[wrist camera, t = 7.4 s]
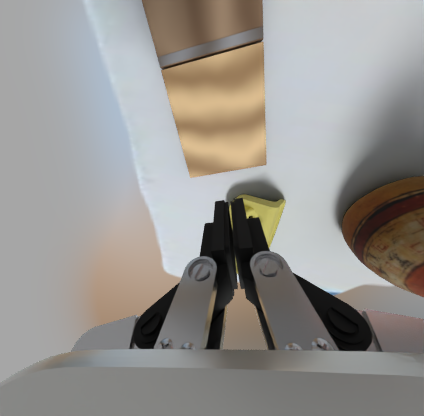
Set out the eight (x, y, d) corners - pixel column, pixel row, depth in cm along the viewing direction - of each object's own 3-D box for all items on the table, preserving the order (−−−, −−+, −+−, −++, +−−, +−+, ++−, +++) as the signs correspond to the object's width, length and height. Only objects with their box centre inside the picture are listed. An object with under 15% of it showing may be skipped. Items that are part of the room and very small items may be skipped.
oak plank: (164, 72, 24) (161, 70, 22) (260, 46, 22) (263, 41, 20) (191, 175, 31) (190, 177, 30) (264, 162, 29) (266, 164, 28)
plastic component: (231, 195, 32) (283, 210, 28) (243, 185, 38) (287, 197, 34) (220, 265, 41) (258, 283, 37) (230, 248, 47) (264, 263, 43)
